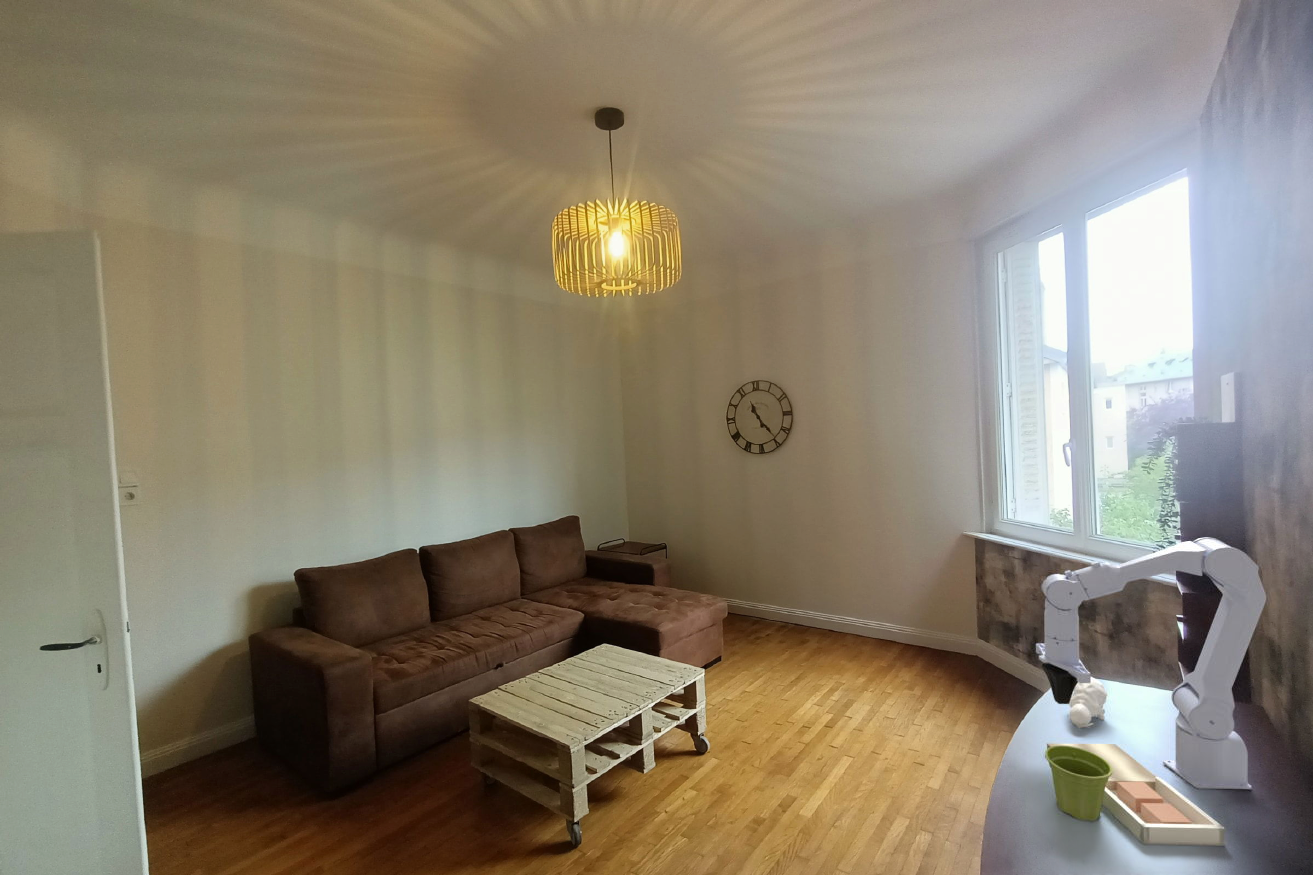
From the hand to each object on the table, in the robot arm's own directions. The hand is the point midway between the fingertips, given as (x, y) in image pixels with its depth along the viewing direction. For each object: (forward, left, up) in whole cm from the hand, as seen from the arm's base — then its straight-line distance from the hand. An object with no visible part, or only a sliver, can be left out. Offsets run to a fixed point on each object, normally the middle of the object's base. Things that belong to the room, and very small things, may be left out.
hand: (1061, 702), depth 118 cm
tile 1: (-3, +17, -10) cm, 19 cm away
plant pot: (+8, +18, -10) cm, 22 cm away
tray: (-3, +20, -10) cm, 22 cm away
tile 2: (-3, +22, -10) cm, 25 cm away
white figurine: (-12, -12, -10) cm, 20 cm away
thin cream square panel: (-3, +7, -10) cm, 12 cm away
